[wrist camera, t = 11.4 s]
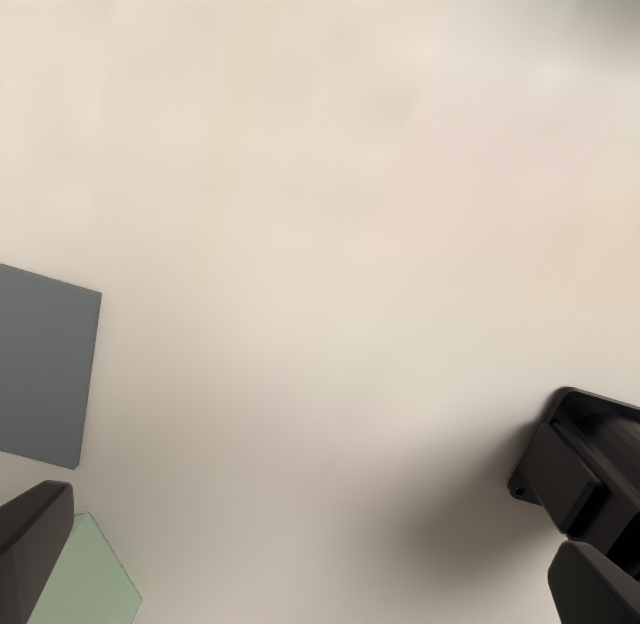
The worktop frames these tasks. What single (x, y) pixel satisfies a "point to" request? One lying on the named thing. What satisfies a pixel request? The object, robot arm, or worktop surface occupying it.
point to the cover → (87, 583)
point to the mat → (45, 365)
